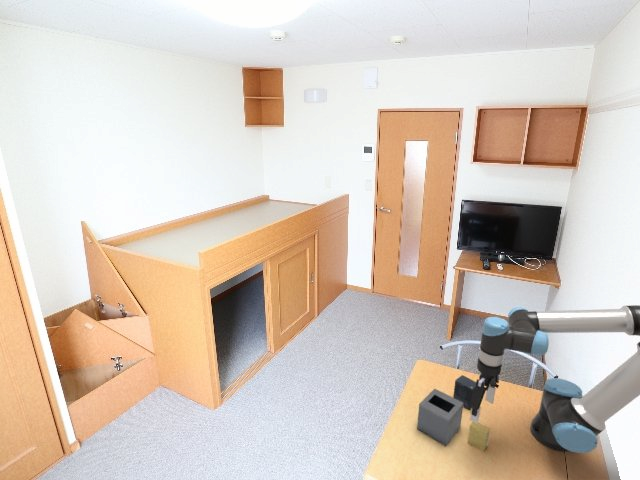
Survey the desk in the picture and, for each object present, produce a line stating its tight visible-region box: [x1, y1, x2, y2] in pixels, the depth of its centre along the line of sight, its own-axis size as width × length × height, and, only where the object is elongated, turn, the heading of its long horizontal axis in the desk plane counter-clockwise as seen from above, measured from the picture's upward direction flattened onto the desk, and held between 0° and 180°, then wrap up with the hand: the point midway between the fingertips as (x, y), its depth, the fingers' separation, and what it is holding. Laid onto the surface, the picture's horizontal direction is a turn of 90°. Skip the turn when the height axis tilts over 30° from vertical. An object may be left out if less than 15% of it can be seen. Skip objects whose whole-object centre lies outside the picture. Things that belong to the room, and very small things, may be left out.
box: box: [452, 374, 476, 411], centre depth 162 cm, size 8×6×11 cm
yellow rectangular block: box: [467, 421, 491, 452], centre depth 142 cm, size 6×4×8 cm, turn 46°
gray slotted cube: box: [416, 388, 464, 447], centre depth 148 cm, size 12×12×12 cm
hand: (481, 411), depth 139 cm, fingers open, 13 cm apart
